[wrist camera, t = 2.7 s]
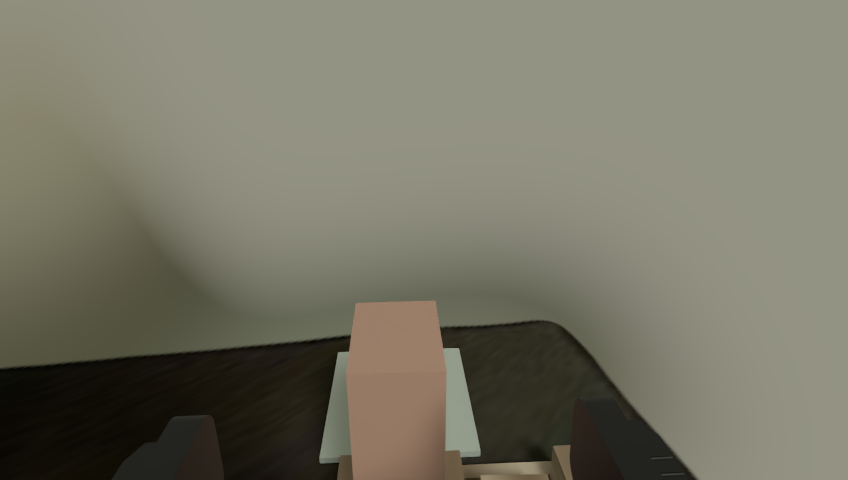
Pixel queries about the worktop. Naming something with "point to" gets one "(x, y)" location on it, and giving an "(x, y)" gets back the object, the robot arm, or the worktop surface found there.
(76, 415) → the worktop surface
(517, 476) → the plywood offcut stack
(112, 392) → the worktop surface
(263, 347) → the worktop surface
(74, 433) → the worktop surface
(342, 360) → the sage mat
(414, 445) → the peach upright pillar
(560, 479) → the birch rack
